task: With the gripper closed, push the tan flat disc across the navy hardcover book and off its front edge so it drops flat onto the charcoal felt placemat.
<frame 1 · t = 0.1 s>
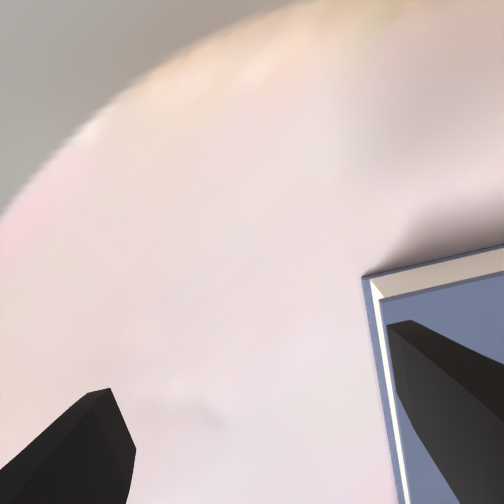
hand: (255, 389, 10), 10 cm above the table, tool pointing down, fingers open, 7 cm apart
book: (497, 393, 22), on the table
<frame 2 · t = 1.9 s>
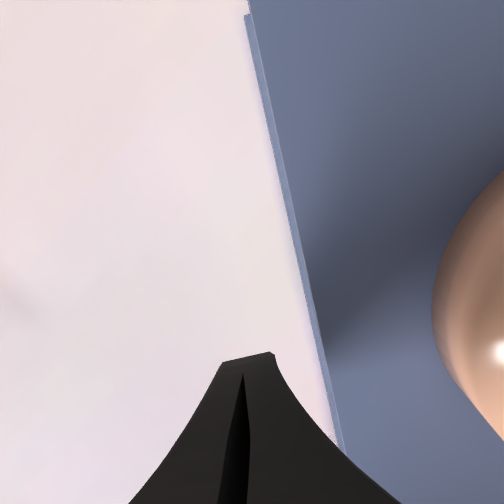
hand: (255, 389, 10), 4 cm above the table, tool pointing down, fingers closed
book: (493, 260, 13), on the table
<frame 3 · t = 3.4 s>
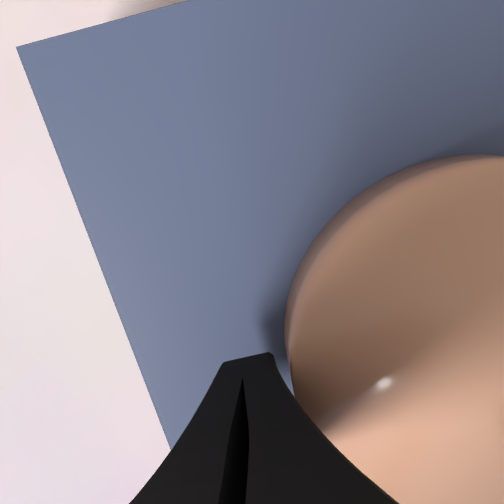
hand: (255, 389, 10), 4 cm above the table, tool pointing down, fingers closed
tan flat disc: (448, 323, 11), point 3 cm above the table, touching gripper
book: (346, 295, 14), on the table
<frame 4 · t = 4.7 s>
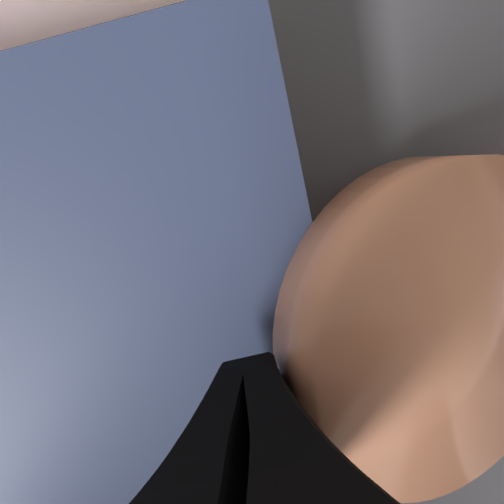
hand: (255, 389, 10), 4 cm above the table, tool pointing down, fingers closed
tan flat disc: (409, 313, 12), point 2 cm above the table, tilted 22°, touching gripper
book: (139, 343, 14), on the table
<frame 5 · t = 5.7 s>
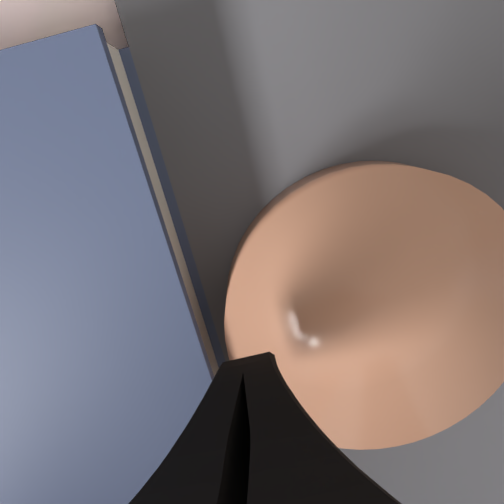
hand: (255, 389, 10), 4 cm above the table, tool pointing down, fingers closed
placemat: (398, 282, 14), on the table
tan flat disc: (360, 296, 13), resting on placemat
book: (42, 365, 14), on the table
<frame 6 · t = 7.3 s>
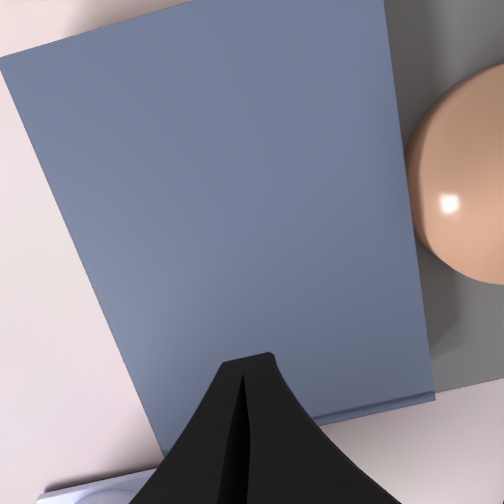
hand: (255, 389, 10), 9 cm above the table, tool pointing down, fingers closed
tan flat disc: (500, 173, 18), resting on placemat
book: (248, 235, 19), on the table
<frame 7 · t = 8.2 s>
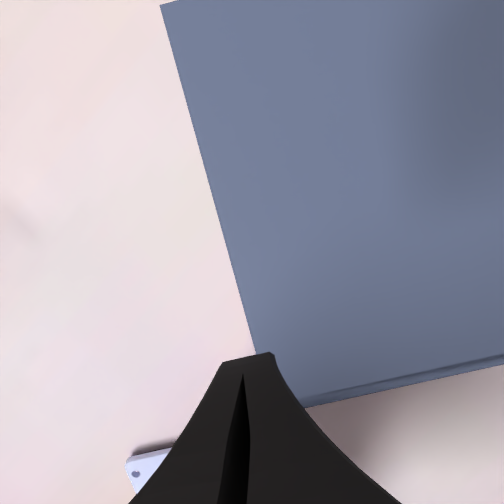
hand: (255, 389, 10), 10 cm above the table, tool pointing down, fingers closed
book: (357, 194, 19), on the table
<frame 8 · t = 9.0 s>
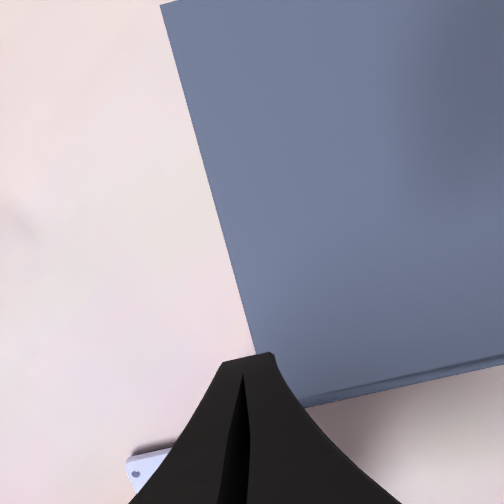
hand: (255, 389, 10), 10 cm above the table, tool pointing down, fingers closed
book: (357, 194, 19), on the table
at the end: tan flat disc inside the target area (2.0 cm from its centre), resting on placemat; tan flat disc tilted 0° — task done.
